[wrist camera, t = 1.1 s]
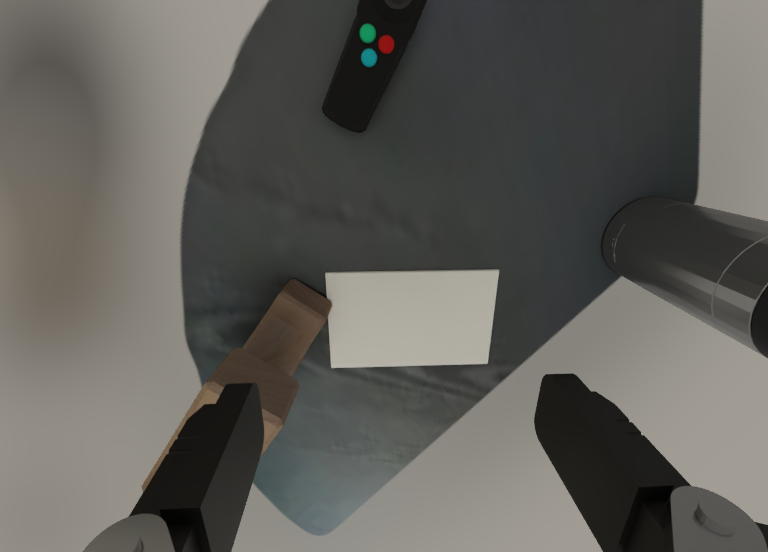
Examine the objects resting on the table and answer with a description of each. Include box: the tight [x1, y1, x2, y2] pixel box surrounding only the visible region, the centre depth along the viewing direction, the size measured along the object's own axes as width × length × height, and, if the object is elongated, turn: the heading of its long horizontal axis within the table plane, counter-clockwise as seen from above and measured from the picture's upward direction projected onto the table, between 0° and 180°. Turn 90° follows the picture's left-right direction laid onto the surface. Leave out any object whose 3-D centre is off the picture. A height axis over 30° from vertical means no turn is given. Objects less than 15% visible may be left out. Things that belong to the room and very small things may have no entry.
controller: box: [322, 0, 427, 133], centre depth 29 cm, size 4×12×10 cm, turn 153°
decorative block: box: [142, 279, 332, 492], centre depth 34 cm, size 11×6×20 cm, turn 145°
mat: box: [325, 269, 499, 368], centre depth 44 cm, size 20×12×1 cm, turn 90°
